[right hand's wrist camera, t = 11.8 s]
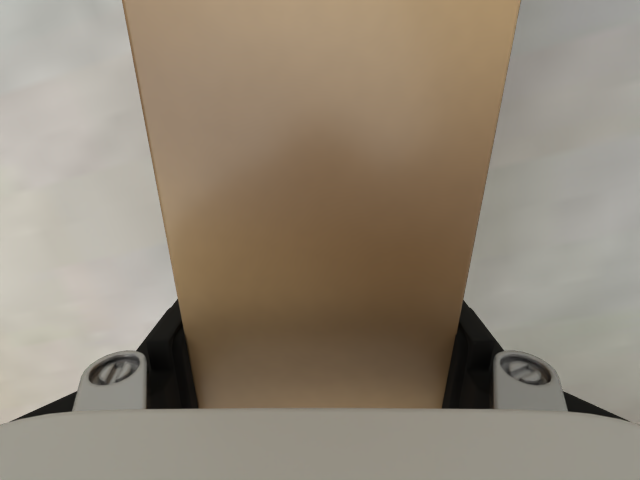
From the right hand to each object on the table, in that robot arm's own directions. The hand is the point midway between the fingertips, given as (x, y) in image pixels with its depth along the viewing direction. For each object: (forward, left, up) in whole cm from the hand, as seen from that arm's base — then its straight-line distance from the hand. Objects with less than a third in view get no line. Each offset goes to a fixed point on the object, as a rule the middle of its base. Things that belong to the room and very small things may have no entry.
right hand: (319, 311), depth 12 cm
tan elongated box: (+5, -4, -7) cm, 10 cm away
